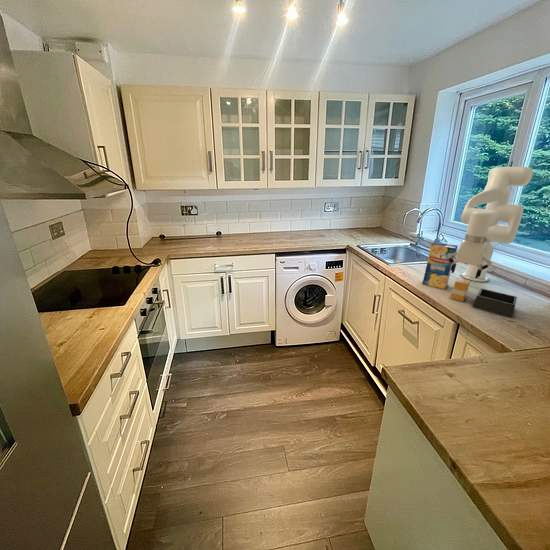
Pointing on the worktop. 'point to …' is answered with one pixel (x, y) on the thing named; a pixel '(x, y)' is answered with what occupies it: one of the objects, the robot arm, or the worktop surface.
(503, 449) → the worktop surface
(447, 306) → the worktop surface
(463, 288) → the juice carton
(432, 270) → the blue yellow food box
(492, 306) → the basket
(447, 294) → the worktop surface
